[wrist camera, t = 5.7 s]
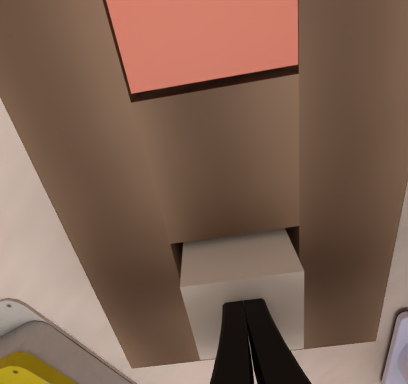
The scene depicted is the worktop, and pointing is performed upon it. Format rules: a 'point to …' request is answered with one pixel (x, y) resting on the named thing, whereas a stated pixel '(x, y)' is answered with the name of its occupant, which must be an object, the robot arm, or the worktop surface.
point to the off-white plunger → (242, 284)
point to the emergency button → (46, 352)
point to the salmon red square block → (202, 39)
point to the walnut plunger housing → (218, 162)
